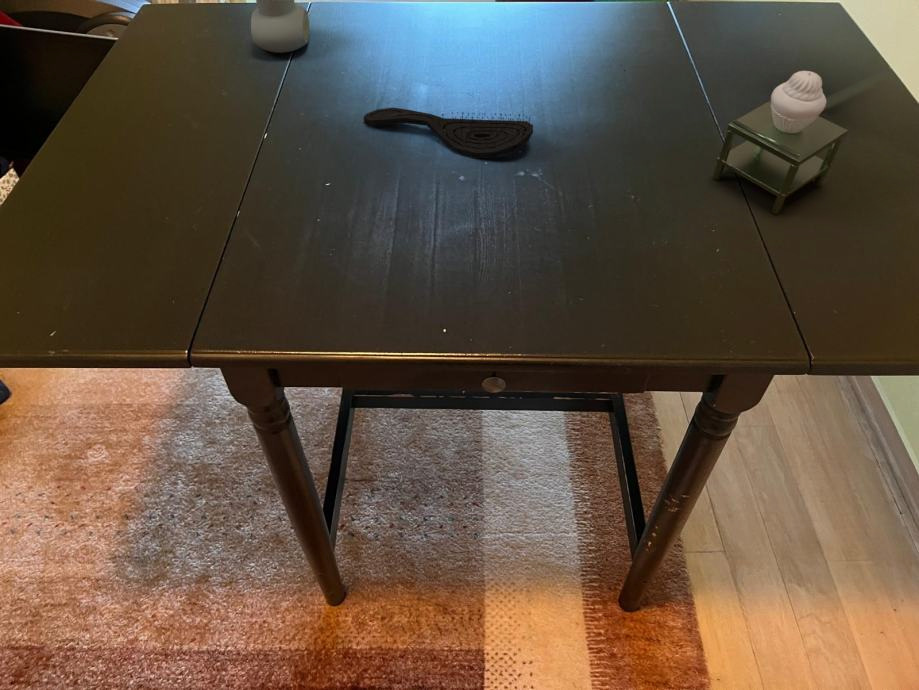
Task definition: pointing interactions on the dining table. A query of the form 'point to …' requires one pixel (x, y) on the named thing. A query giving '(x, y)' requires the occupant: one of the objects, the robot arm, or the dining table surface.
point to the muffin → (797, 102)
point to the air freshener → (279, 25)
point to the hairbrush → (462, 131)
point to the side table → (779, 153)
